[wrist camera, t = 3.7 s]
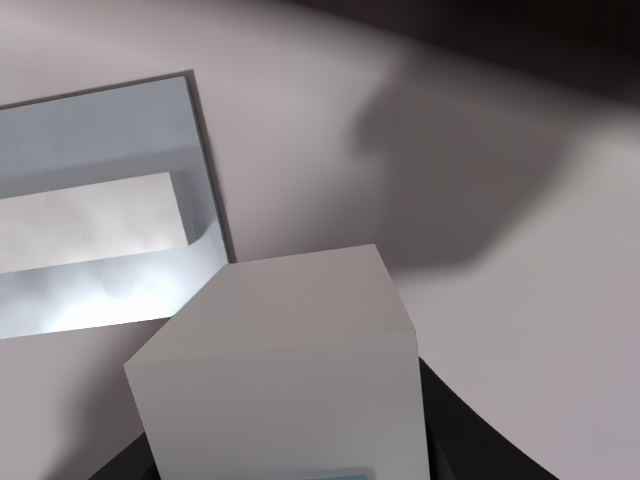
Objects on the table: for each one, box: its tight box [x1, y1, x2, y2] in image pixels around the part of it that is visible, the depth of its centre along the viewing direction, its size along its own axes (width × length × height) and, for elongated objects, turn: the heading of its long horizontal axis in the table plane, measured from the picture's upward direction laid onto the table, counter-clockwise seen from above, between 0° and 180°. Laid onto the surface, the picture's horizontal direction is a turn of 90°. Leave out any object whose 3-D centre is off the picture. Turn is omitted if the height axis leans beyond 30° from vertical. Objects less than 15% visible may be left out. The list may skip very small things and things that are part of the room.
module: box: [123, 244, 430, 480], centre depth 8 cm, size 7×4×5 cm, turn 9°
